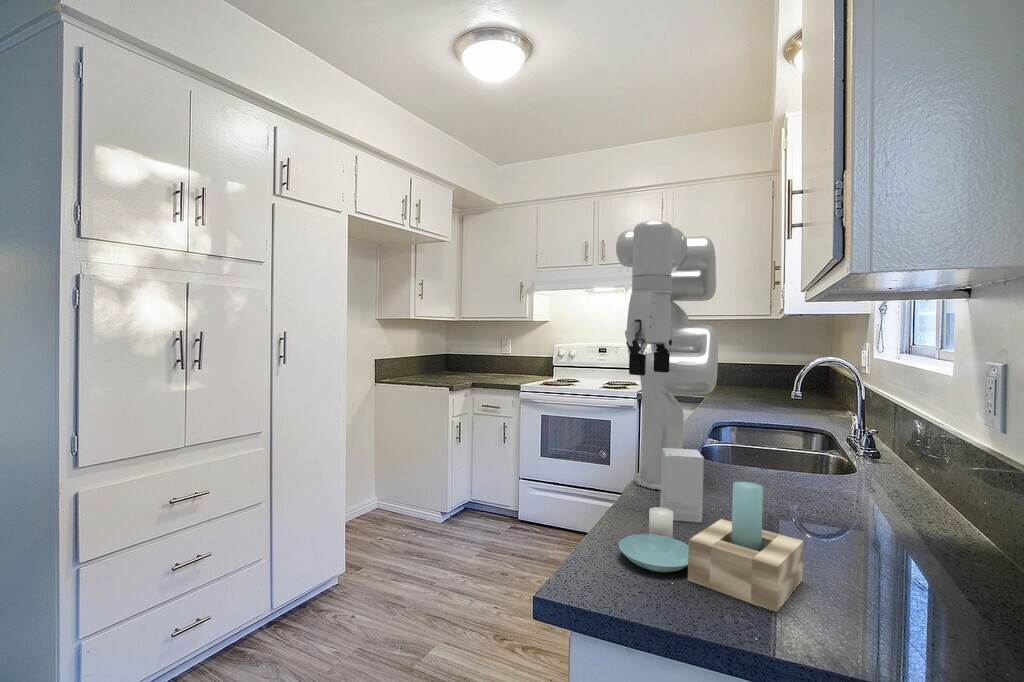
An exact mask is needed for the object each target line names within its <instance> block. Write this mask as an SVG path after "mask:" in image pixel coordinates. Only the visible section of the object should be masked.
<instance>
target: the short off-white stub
mask: <svg viewBox="0 0 1024 682" xmlns="http://www.w3.org/2000/svg"><path fill="white" fill-rule="evenodd" d="M648 513H649V517H648V522H649V523H648V534H651V535H660V536H665V537H669V538H673V539H674V537H673V536H674V535H673V533H674V520H673V511H672V510H670V509H667V508H662V507H660V506H659V507H658V506H655V507H651V508H649V512H648Z"/></svg>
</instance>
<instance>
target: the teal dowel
mask: <svg viewBox="0 0 1024 682" xmlns="http://www.w3.org/2000/svg"><path fill="white" fill-rule="evenodd" d="M763 497H764V487H763V485H761V484H758V483H754V482H751V481H750V482H749V481H735V482H733V483H732V505H731V506H732V509H731V522H732V537H731V543H732V544H735V545H739V546H742V547H745V548H749V549H752V550H756V551H759V552H760V551H761V544H762V530H763V510H764V509H763V504H764V501H763V500H764V498H763Z"/></svg>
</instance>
